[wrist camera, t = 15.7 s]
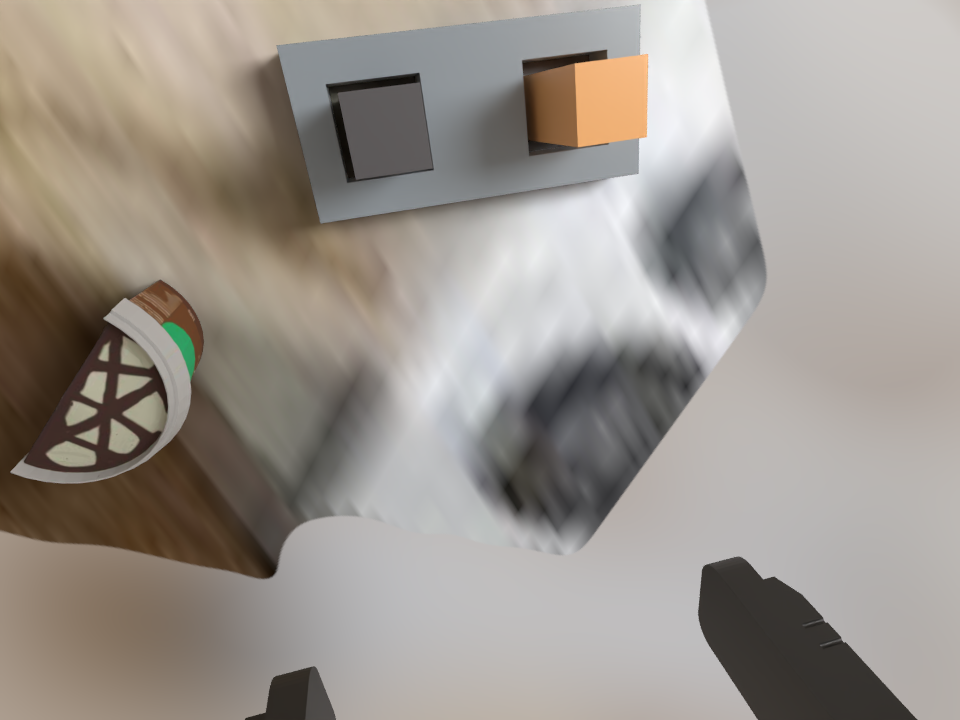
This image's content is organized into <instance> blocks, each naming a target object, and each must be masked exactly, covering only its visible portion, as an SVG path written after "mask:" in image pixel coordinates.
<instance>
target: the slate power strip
mask: <svg viewBox="0 0 960 720" xmlns="http://www.w3.org/2000/svg"><path fill="white" fill-rule="evenodd" d="M277 49H278V54H279V58H280V62H281V66H282V70H283V74H284V78H285V82H286V86H287V90H288V94H289V98H290V102H291V106H292V110H293V114H294V118H295V122H296V126H297V130H298V134H299V138H300V142H301V146H302V150H303V154H304V158H305V162H306V167H307V171H308V175H309V179H310V183H311V187H312V191H313V195H314V199H315V203H316V207H317V211H318V215H319V219H320V223H327V222H333V221H339V220H346V219H352V218H359V217H365V216H371V215H378V214H384V213H391V212H397V211H403V210H410V209H416V208H422V207H429V206H435V205H442V204H448V203H454V202H461V201H467V200H474V199H480V198H486V197H493V196H499V195H505V194H512V193H518V192H525V191H531V190H537V189H544V188H550V187H557V186H563V185H569V184H576V183H582V182H589V181H595V180H601V179H608V178H614V177H620V176H627V175H633V174H638V172H639V138H637V139H630V140H624V141H617V142H610V143H604V144H597V145H590V146H584V147H572V146H564V147H558V148H551V149H544V150H537V151H530V152H529V149H528V136H527V122H526V108H525V95H524V81H523V67H522V63H525V62H533V61H541V60H549V59H557V58H565V57H573V56H581V55H589V62H590V61H598V60H606V59H613V58H621V57H629V56H637V55H640V5H632V6H623V7H614V8H605V9H596V10H587V11H578V12H570V13H561V14H552V15H543V16H534V17H525V18H516V19H507V20H498V21H490V22H481V23H472V24H463V25H454V26H445V27H436V28H427V29H418V30H409V31H401V32H392V33H383V34H374V35H365V36H356V37H347V38H338V39H329V40H321V41H312V42H303V43H294V44H285V45H277ZM412 76H415V79H416V83H411V84H404V85H396V86H388V87H380V88H372V89H364V90H356V91H348V92H340V93H338V97H339V102H340V107H341V112H342V116H343V121H344V126H345V130H346V135H347V140H348V145H349V149H350V154H351V159H352V164H353V168H354V173H355V177H353V178H348V175H347V171H346V166H345V161H344V157H343V152H342V148H341V143H340V138H339V134H338V129H337V125H336V120H335V115H334V111H333V106H332V102H331V97H330V92H329V88H328V87H331V86H339V85H347V84H355V83H363V82H371V81H379V80H387V79H395V78H403V77H412Z"/></svg>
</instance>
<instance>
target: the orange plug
mask: <svg viewBox="0 0 960 720" xmlns="http://www.w3.org/2000/svg"><path fill="white" fill-rule="evenodd" d="M523 81H524V95H525V108H526V122H527V136H528V140H530V141H537V142H544V143H551V144H558V145H565V146H572V147H584V146H590V145H597V144H604V143H610V142H617V141H624V140H630V139H637V138H644V137H647V88H648V54H644V55H637V56H629V57H621V58H613V59H606V60H598V61H590V62H582V63H575V64H571V65H567V66H563V67H559V68H554V69H550V70H546V71H542V72H538V73H534V74H530V75H526V76H523Z"/></svg>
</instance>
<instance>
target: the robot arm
mask: <svg viewBox="0 0 960 720" xmlns="http://www.w3.org/2000/svg"><path fill="white" fill-rule="evenodd" d="M698 616H699V622H700V626H701V629H702V632H703V634H704V637H705V639H706V641H707V642H708V644H709V646H710V647H711V649H712V651H713V652H714V654H715V655H716V657H717V658H718V660H719V661H720V662H721V664H722V666H723V667H724V668H725V670H726V672H727V673H728V675H729V676H730V678H731V679H732V681H733V682H734V684H735V685H736V687H737V688H738V690H739V691H740V693H741V695H742V696H743V697H744V699H745V701H746V702H747V704H748V705H749V707H750V708H751V710H752V711H753V713H754V714H755V716H756V717H757V719H758V720H917V719H916V718H915V717H914V716H913V715H912V714H911V713H910V712H909V710H908V709H907V708H906V707H905V706H904V705H903V704H902V703H901V702H900V701H899V700H898V699H897V698H896V696H895V695H894V694H893V693H892V692H891V691H890V690H889V689H888V688H887V687H886V685H885V684H884V683H882V681H881V680H880V679H879V678H878V677H877V676H876V675H875V674H874V672H873V671H872V670H871V669H870V668H869V667H868V666H867V665H866V664H865V663H864V662H863V661H862V659H861V658H860V657H859V656H858V655H857V654H856V653H855V652H854V651H853V650H852V649H851V647H850V646H849V645H848V644H847V643H846V642H845V643H844V642H843V641H842V639H841V637H840V636H839V634H838V633H837V632H836V631H835V630H834V629H833V628H832V627H831V626H830V625H829V624H828V623H825V622H824V620H823V617H822V616H821V615H820V614H819V613H818V612H817V611H816V609H815V608H814V607H813V606H812V605H811V604H810V603H809V602H808V601H807V600H806V599H805V598H804V597H803V595H801V594H800V593H799V592H797V591H795V590H794V589H792V588H791V587H789V586H788V585H786V584H785V583H783V582H781V581H780V580H778V579H777V578H775V577H771V578H767V579H764V580H763V579H762V578H761V576H760V575H759V574H758V573H757V572H756V571H755V570H754V568H753V567H752V566H751V565H750V564H749V563H748V562H747V561H746V560H745V559H743V558H741V557H734V558H730V559H726V560H722V561H719V562H715V563H711V564H707V565H705V566H704V567H703V569H702V577H701V588H700V600H699V610H698ZM245 720H336V718H335V714H334V711H333V708H332V706H331V703H330V700H329V698H328V696H327V693H326V690H325V688H324V686H323V683H322V680H321V678H320V675H319V673H318V670H317V668H316V667H310V668H306V669H302V670H298V671H294V672H291V673H286V674H283V675H279V676H276V677H274V678H273V680H272V682H271V685H270V690H269V696H268V702H267V708H266V713H263V714H259V715H256V716H252V717H248V718H246V719H245Z"/></svg>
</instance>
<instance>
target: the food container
mask: <svg viewBox="0 0 960 720" xmlns="http://www.w3.org/2000/svg"><path fill="white" fill-rule="evenodd" d="M104 320H106V321H108V323H107V325H106V326H105V327H104V330H103V332H102V334H101V336H100V338H99V339H98V341H97V342H96V344H95V346H94V347H93V349H92V350H91V352H90V354H89V355H88V357H87V358H86V360H85V362H84V363H83V365H82V366H81V368H80V370H79V371H78V373H77V374H76V376H75V377H74V379H73V381H72V382H71V384H70V385H69V387H68V388H67V390H66V391H65V393H64V394H63V396H62V398H61V400H60V401H59V403H58V405H57V407H56V408H55V410H54V412H53V414H52V415H51V417H50V419H49V420H48V422H47V423H46V425H45V427H44V428H43V430H42V432H41V433H40V435H39V437H38V438H37V440H36V441H35V443H34V445H33V446H32V448H31V450H30V451H29V453H28V454H27V455H26V456H25V457H24V458H23V459H22V460H21V461H20V462H19V463H18V464H17V465H16V466H15V467H14V468H13V470H12V471H11V472H10V473H13V474H16V475H19V476H22V477H25V478H29V479H34V480H39V481H44V482H53V483H85V482H93V481H99V480H102V479H106V478H110V477H113V476H116V475H118V474H121V473H123V472H126V471H128V470H131V469H133V468H135V467H137V466H138V465H140V464H142V463H144V462H145V461H147V460H148V459H149V458H151V457H152V456H153V455H154V454H155V453H157V452H158V451H159V450H160V449H161V448H163V447H164V446H165V445H166V444H167V443H169V442H170V441H171V440H172V438H173V437H174V436H175V435H176V434H177V432H178V431H179V430H180V428H181V426H182V424H183V423H184V421H185V419H186V416H187V413H188V410H189V406H190V398H191V385H190V381H191V379H192V376H193V374H194V372H195V370H196V368H197V365H198V363H199V361H200V359H201V355H202V352H203V344H204V339H203V331H202V328H201V324H200V321H199V319H198V317H197V315H196V313H195V312H194V310H193V309H192V307H191V306H190V304H189V303H188V302H187V301H186V300H185V299H184V298H183V296H182V295H181V294H179V293H178V292H177V291H176V290H175V289H174V288H172V287H171V286H169V285H168V284H166V283H165V282H163V281H162V280H159V281H158V282H156V283H155V284H153V285H152V286H150V287H149V288H147V289H146V290H144V291H142V292H141V293H139V294H138V295H136V296H135V297H133V298H132V299H130V300H127V299H126V298H124V299H123V300H122V301H121V302H120V303H119V304H117V305H116V306H115V307H114V308H113V309H112V310H111V312H110V313H109V314H108V315H107V316H106V317H104Z"/></svg>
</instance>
